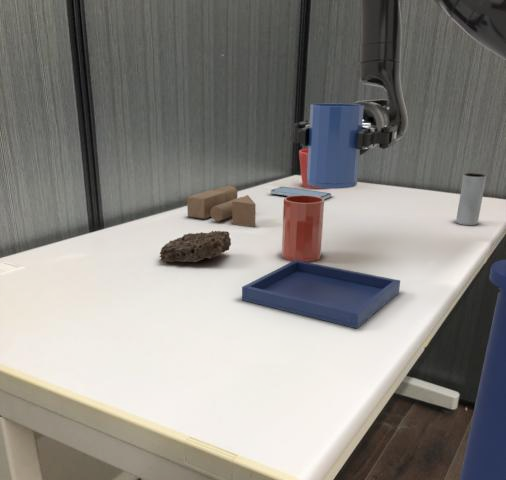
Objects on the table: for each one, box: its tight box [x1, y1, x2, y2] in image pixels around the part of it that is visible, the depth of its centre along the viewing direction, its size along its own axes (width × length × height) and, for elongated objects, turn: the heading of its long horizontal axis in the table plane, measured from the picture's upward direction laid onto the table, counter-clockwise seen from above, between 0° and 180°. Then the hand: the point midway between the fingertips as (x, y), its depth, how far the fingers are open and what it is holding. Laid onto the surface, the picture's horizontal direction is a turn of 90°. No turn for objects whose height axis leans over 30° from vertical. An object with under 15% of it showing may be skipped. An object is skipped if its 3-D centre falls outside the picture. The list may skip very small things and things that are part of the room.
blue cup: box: [307, 103, 364, 190], centre depth 76 cm, size 7×7×10 cm
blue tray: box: [241, 260, 401, 329], centre depth 82 cm, size 18×16×2 cm
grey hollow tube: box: [455, 172, 487, 226], centre depth 123 cm, size 4×4×10 cm
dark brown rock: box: [159, 230, 232, 263], centre depth 97 cm, size 12×10×5 cm
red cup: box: [281, 195, 325, 263], centre depth 99 cm, size 7×7×10 cm
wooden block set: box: [186, 185, 257, 228], centre depth 128 cm, size 17×6×18 cm
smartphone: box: [270, 186, 332, 200], centre depth 150 cm, size 7×1×15 cm
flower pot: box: [298, 148, 323, 190], centre depth 161 cm, size 11×11×10 cm
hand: (331, 139), depth 73 cm, fingers closed on blue cup, 7 cm apart
